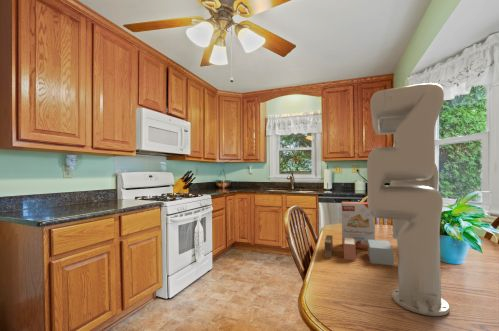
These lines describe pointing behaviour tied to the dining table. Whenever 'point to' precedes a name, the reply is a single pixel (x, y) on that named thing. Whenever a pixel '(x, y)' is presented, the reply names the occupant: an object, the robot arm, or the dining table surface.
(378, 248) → the slate block
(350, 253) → the pink rectangular block
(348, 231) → the cracker box
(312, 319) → the dining table surface
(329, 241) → the bookend
